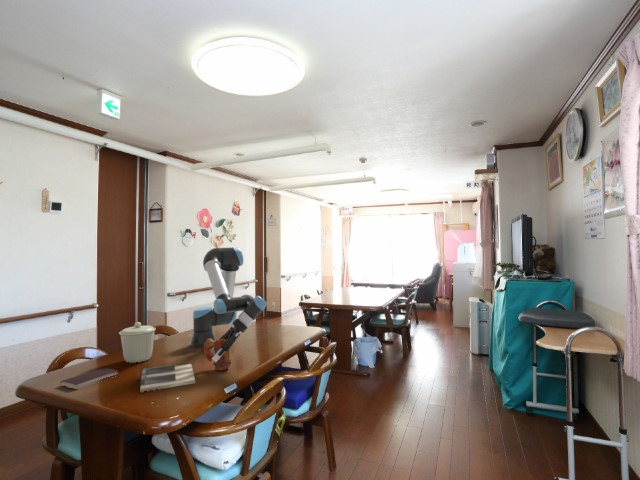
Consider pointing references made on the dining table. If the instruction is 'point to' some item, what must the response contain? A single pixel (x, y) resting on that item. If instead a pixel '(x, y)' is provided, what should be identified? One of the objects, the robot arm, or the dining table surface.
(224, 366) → the mug
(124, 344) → the canister
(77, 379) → the book
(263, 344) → the dining table surface
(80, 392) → the dining table surface
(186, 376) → the notched board
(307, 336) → the dining table surface
